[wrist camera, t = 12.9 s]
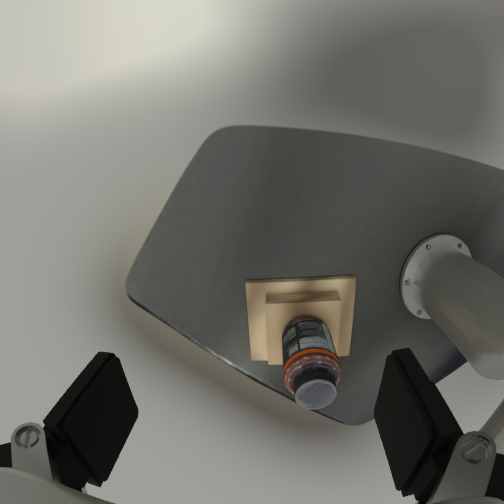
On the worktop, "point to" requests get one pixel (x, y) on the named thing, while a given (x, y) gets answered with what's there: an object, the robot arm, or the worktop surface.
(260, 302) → the oak base
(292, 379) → the supplement bottle
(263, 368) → the worktop surface
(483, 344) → the robot arm
